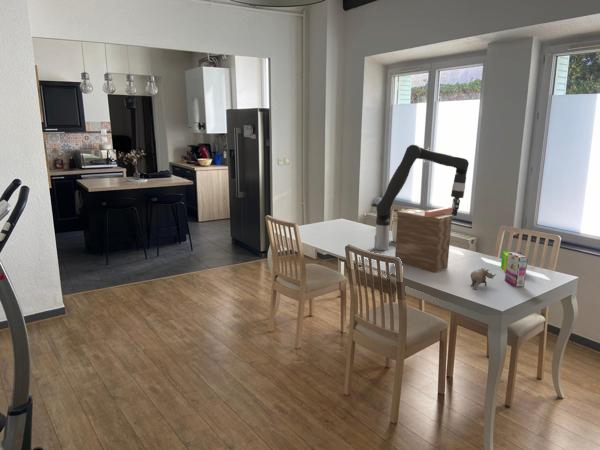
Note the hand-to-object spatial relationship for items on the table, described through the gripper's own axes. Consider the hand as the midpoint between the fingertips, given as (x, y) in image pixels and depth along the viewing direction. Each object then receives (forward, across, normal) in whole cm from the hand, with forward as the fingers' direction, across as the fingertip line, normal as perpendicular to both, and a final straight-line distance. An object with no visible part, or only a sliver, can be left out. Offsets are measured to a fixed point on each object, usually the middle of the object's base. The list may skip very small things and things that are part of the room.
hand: (453, 215), depth 282 cm
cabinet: (+31, +22, -17) cm, 42 cm away
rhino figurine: (+32, +52, +12) cm, 63 cm away
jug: (+28, -36, -29) cm, 54 cm away
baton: (-1, +25, -12) cm, 27 cm away
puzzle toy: (+27, +18, +35) cm, 48 cm away
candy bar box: (+29, +44, +31) cm, 61 cm away
